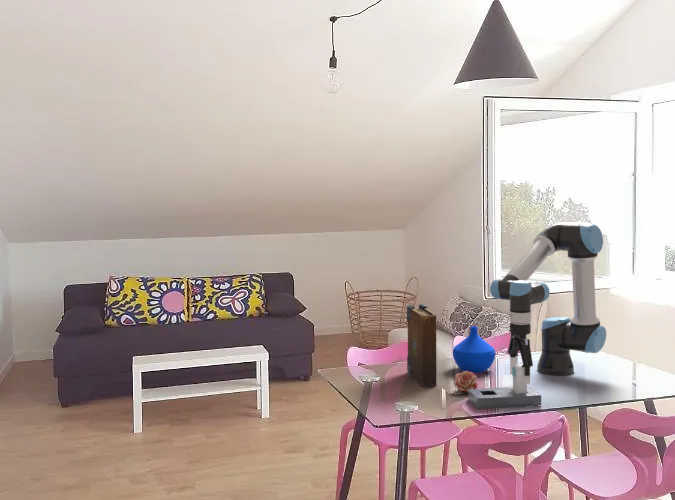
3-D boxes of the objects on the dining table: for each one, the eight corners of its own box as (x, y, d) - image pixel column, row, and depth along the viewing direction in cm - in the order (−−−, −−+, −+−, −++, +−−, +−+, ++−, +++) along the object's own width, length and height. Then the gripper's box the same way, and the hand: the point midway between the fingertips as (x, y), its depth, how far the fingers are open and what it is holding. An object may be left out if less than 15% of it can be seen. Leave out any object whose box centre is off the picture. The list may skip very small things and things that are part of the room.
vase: (448, 373, 321) (448, 330, 319) (457, 363, 338) (457, 321, 336) (491, 377, 314) (491, 332, 312) (498, 366, 331) (498, 324, 329)
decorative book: (407, 372, 324) (406, 304, 320) (423, 371, 325) (422, 303, 322) (422, 388, 301) (421, 314, 297) (439, 386, 302) (438, 313, 299)
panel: (529, 397, 285) (529, 386, 285) (541, 407, 273) (541, 395, 273) (468, 400, 283) (468, 389, 283) (477, 410, 271) (477, 398, 271)
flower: (451, 384, 299) (451, 371, 294) (473, 378, 300) (473, 365, 295) (459, 403, 292) (459, 390, 287) (482, 397, 293) (481, 384, 287)
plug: (523, 399, 281) (523, 363, 279) (526, 403, 277) (527, 366, 275) (511, 400, 280) (511, 364, 279) (514, 403, 276) (514, 366, 275)
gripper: (499, 316, 288) (499, 370, 290) (521, 330, 263) (521, 389, 265) (518, 316, 288) (518, 369, 290) (542, 329, 264) (541, 388, 266)
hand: (519, 379), depth 278 cm, fingers open, 13 cm apart
